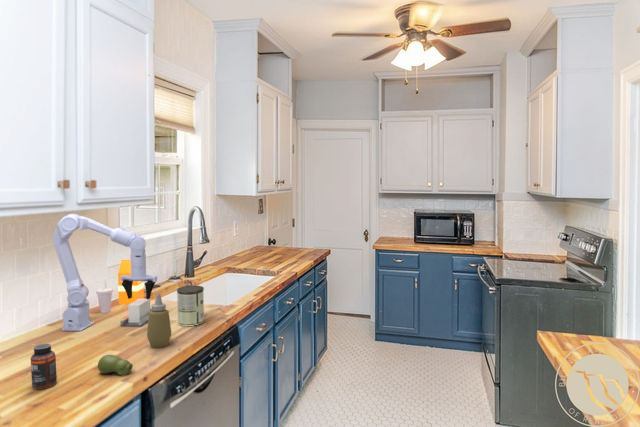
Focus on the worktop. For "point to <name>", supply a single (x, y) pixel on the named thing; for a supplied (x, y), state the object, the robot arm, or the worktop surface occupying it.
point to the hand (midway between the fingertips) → (139, 298)
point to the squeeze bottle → (158, 324)
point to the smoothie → (104, 299)
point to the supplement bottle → (43, 367)
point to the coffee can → (190, 305)
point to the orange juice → (136, 286)
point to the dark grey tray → (126, 323)
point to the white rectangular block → (138, 310)
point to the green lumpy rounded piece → (114, 365)
